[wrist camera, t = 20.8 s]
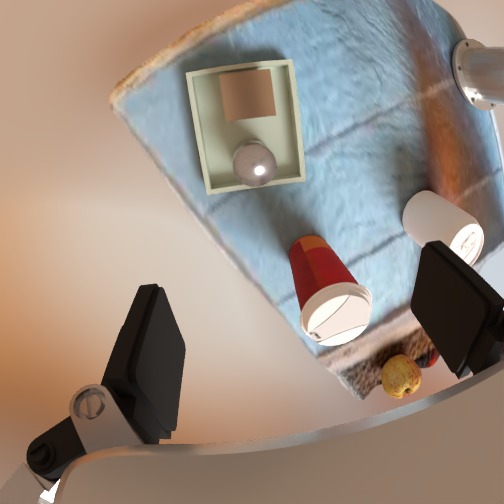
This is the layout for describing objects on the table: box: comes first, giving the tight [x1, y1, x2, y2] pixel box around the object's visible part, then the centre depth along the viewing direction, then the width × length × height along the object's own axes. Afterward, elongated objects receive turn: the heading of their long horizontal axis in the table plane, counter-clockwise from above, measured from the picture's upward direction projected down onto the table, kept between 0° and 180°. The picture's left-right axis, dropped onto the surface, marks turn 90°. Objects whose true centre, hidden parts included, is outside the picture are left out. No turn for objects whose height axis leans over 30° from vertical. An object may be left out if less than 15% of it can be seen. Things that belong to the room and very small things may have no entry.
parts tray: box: [186, 59, 306, 195], centre depth 31 cm, size 12×15×3 cm
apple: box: [382, 354, 422, 398], centre depth 52 cm, size 9×9×10 cm
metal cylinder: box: [233, 139, 277, 187], centre depth 31 cm, size 4×4×6 cm
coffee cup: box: [289, 235, 372, 346], centre depth 35 cm, size 8×8×15 cm
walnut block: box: [219, 69, 276, 122], centre depth 28 cm, size 5×5×6 cm
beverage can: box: [402, 191, 484, 266], centre depth 34 cm, size 8×8×12 cm
